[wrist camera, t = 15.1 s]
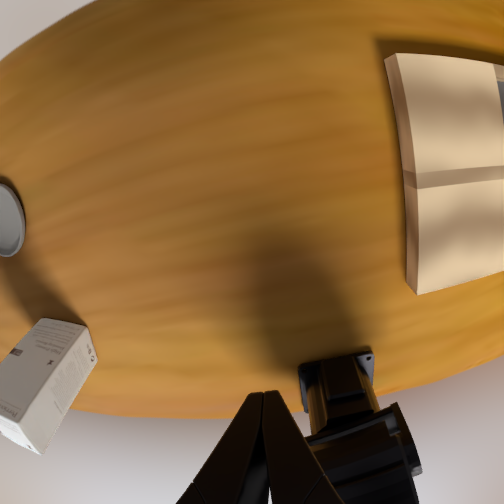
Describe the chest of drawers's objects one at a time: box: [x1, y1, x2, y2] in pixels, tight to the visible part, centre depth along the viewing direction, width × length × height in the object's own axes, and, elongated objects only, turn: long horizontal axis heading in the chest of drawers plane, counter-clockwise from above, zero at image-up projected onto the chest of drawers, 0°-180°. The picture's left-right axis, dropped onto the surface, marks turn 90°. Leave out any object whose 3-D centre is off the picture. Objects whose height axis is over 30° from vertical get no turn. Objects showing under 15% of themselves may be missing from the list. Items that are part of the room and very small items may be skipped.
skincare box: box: [0, 318, 97, 455], centre depth 19 cm, size 6×4×12 cm
